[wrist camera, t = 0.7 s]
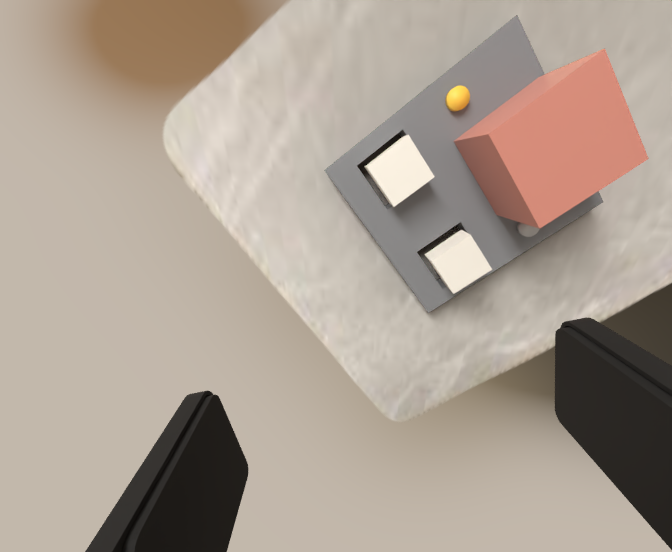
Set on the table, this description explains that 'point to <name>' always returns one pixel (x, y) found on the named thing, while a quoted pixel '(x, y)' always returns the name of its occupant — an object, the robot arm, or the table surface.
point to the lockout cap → (554, 142)
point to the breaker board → (449, 167)
